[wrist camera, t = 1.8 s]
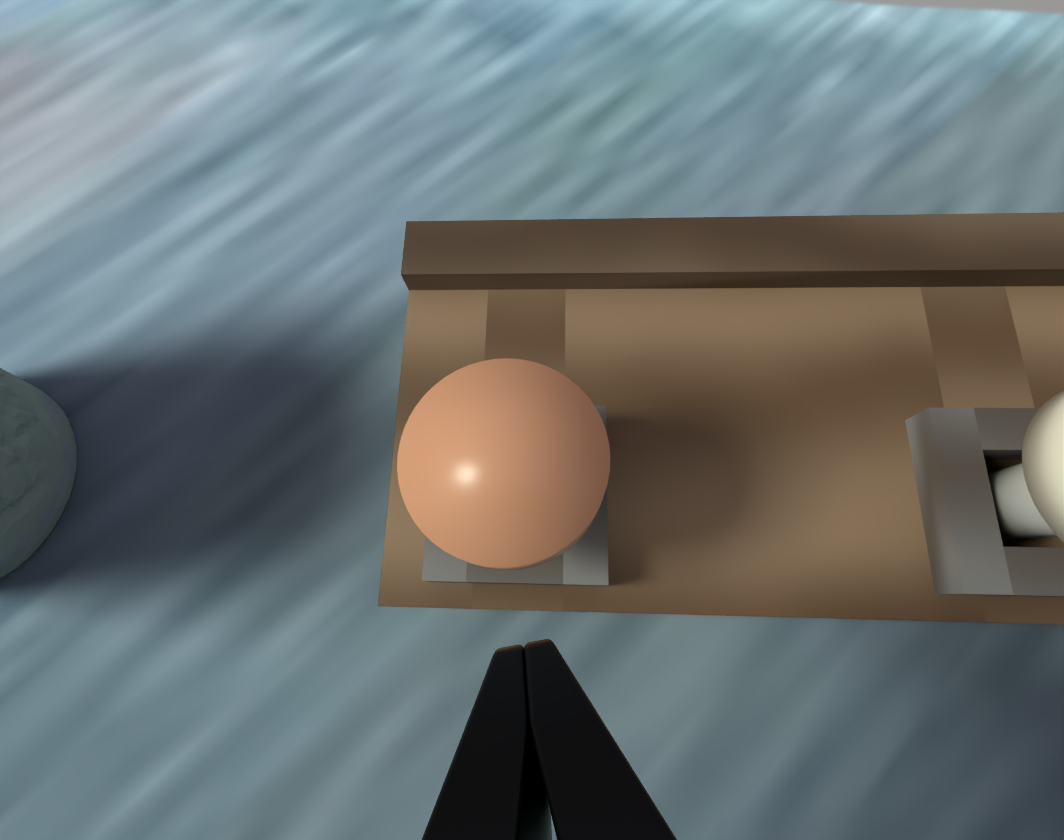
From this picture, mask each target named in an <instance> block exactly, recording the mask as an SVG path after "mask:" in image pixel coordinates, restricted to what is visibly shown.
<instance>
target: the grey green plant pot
mask: <svg viewBox="0 0 1064 840" xmlns="http://www.w3.org/2000/svg"><path fill="white" fill-rule="evenodd" d="M76 469H77V447H76V441H75V435H74V432H73V430H72V427H71V424H70V422H69V419H68V417H67V416H66V414H65V413H64V411H63V410H62V408H61V407H60V406H59V405H58V404H57V403H56V402H55V401H54V400H53V399H52V398H51V397H49V396H48V395H47V394H46V393H44V392H43V391H42V390H40V389H39V388H37V387H35V386H33V385H31V384H30V383H28V382H26V381H24V380H22V379H20V378H18V377H16V376H14V375H13V374H11V373H9V372H7V371H5V370H3V369H1V368H0V579H1V578H2V577H4V576H5V575H7V574H8V573H10V572H11V571H13V570H14V569H16V568H17V567H18V566H20V565H21V564H22V563H23V562H25V561H26V560H27V559H28V558H29V557H30V556H31V555H32V554H33V553H34V552H35V551H36V550H37V549H38V548H39V546H40V545H41V544H42V543H43V541H44V540H45V539H46V538H47V537H48V535H49V534H50V533H51V532H52V530H53V528H54V527H55V525H56V523H57V522H58V520H59V518H60V516H61V515H62V513H63V511H64V509H65V506H66V504H67V502H68V500H69V498H70V494H71V491H72V487H73V483H74V480H75V474H76Z"/></svg>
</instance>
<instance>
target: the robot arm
mask: <svg viewBox="0 0 1064 840" xmlns="http://www.w3.org/2000/svg"><path fill="white" fill-rule="evenodd" d="M551 816H552V820H553V824H554V828H555V832H556V836H557V840H677V839H676V838H675V836H674V834H673V833H672V831H671V830H670V828H669V826H668V825H667V823H666V822H665V820H664V818H663V817H662V815H661V814H660V812H659V810H658V809H657V807H656V806H655V804H654V802H653V801H652V799H651V798H650V796H649V794H648V793H647V791H646V790H645V788H644V786H643V785H642V783H641V782H640V780H639V778H638V777H637V775H636V774H635V772H634V771H633V769H632V767H631V766H630V764H629V763H628V761H627V759H626V758H625V756H624V755H623V753H622V751H621V750H620V748H619V747H618V745H617V743H616V742H615V740H614V739H613V737H612V735H611V734H610V732H609V731H608V729H607V727H606V726H605V724H604V723H603V721H602V719H601V718H600V716H599V715H598V713H597V711H596V710H595V708H594V707H593V705H592V704H591V702H590V700H589V699H588V697H587V696H586V694H585V692H584V691H583V689H582V688H581V686H580V684H579V683H578V681H577V680H576V678H575V676H574V675H573V673H572V672H571V670H570V668H569V667H568V665H567V664H566V662H565V660H564V659H563V657H562V656H561V654H560V652H559V651H558V649H557V648H556V646H555V644H554V643H553V642H552V641H551V640H549V639H544V640H539V641H534V642H529V643H527V644H526V645H525V647H523V646H521V645H514V646H509V647H504V648H499V649H497V650H496V651H495V653H494V655H493V657H492V660H491V662H490V665H489V667H488V670H487V672H486V675H485V678H484V680H483V683H482V685H481V688H480V691H479V693H478V696H477V698H476V701H475V703H474V706H473V709H472V711H471V714H470V716H469V719H468V722H467V724H466V727H465V729H464V732H463V734H462V737H461V740H460V742H459V745H458V747H457V750H456V752H455V755H454V758H453V760H452V763H451V765H450V768H449V771H448V773H447V776H446V778H445V781H444V783H443V786H442V789H441V791H440V794H439V796H438V799H437V802H436V804H435V807H434V809H433V812H432V814H431V817H430V820H429V822H428V825H427V827H426V830H425V833H424V835H423V838H422V840H552V829H551Z"/></svg>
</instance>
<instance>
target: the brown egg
mask: <svg viewBox="0 0 1064 840" xmlns="http://www.w3.org/2000/svg"><path fill="white" fill-rule="evenodd" d="M397 473H398V483H399V487H400V491H401V495H402V498H403V501H404V503H405V506H406V508H407V510H408V512H409V514H410V516H411V517H412V519H413V521H414V522H415V524H416V525H417V526H418V528H419V529H420V530H421V531H422V533H423V534H424V535H425V536H426V537H427V538H428V539H429V540H430V541H431V542H433V543H434V544H435V545H437V546H438V547H439V548H441V549H442V550H443V551H445V552H447V553H449V554H451V555H452V556H454V557H456V558H459V559H461V560H464V561H466V562H469V563H471V564H474V565H477V566H479V567H484V568H488V569H493V570H504V571H508V570H521V569H527V568H532V567H535V566H538V565H541V564H544V563H546V562H548V561H550V560H552V559H555V558H556V557H558V556H560V555H561V554H563V553H564V552H566V551H567V550H568V549H569V548H571V547H572V546H573V545H574V544H575V543H576V542H577V541H578V540H579V539H580V538H581V537H582V536H583V535H584V534H585V532H586V531H587V530H588V528H589V527H590V525H591V524H592V522H593V520H594V518H595V516H596V514H597V512H598V510H599V508H600V505H601V502H602V500H603V497H604V494H605V491H606V488H607V484H608V478H609V473H610V447H609V441H608V437H607V432H606V429H605V426H604V424H603V421H602V418H601V416H600V415H599V413H598V411H597V409H596V407H595V406H594V404H593V403H592V401H591V400H590V399H589V397H588V396H587V395H586V394H585V393H584V392H583V391H582V389H581V388H580V387H579V386H578V385H576V384H575V383H574V382H573V381H571V380H570V379H569V378H568V377H566V376H564V375H563V374H561V373H560V372H558V371H556V370H554V369H552V368H550V367H548V366H545V365H542V364H539V363H536V362H533V361H527V360H522V359H510V358H504V359H491V360H486V361H480V362H477V363H474V364H471V365H468V366H465V367H463V368H461V369H459V370H456V371H455V372H453V373H451V374H450V375H448V376H446V377H445V378H443V379H442V380H441V381H439V382H438V383H437V384H436V385H434V386H433V387H432V388H431V389H430V390H429V391H428V392H427V393H426V394H425V395H424V396H423V398H422V399H421V400H420V401H419V403H418V404H417V405H416V407H415V408H414V410H413V412H412V413H411V415H410V417H409V418H408V421H407V423H406V425H405V427H404V430H403V433H402V436H401V440H400V444H399V450H398V456H397Z"/></svg>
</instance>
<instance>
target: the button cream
mask: <svg viewBox="0 0 1064 840" xmlns="http://www.w3.org/2000/svg"><path fill="white" fill-rule="evenodd" d="M988 477H989V482H990V487H991V492H992V496H993V501H994V506H995V510H996V515H997V520H998V524H999V529H1000V534H1001V539H1002V543H1006V542H1014V541H1021V540H1029V539H1036V538H1044V537H1052V536H1058V537H1059V538H1060V539H1061V541H1063V542H1064V391H1062V392H1060V393H1058V394H1056V395H1055V396H1053V397H1052V398H1051V399H1049V400H1048V401H1046V402H1045V403H1044V404H1043V405H1042V406H1041V407H1040V408H1039V409H1038V411H1037V412H1036V413H1035V415H1034V416H1033V418H1032V419H1031V421H1030V423H1029V425H1028V427H1027V430H1026V433H1025V436H1024V440H1023V447H1022V463H1020V464H1017V465H1013V466H1010V467H1007V468H1003V469H1000V470H997V471H993V472H990V473H988Z"/></svg>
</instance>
